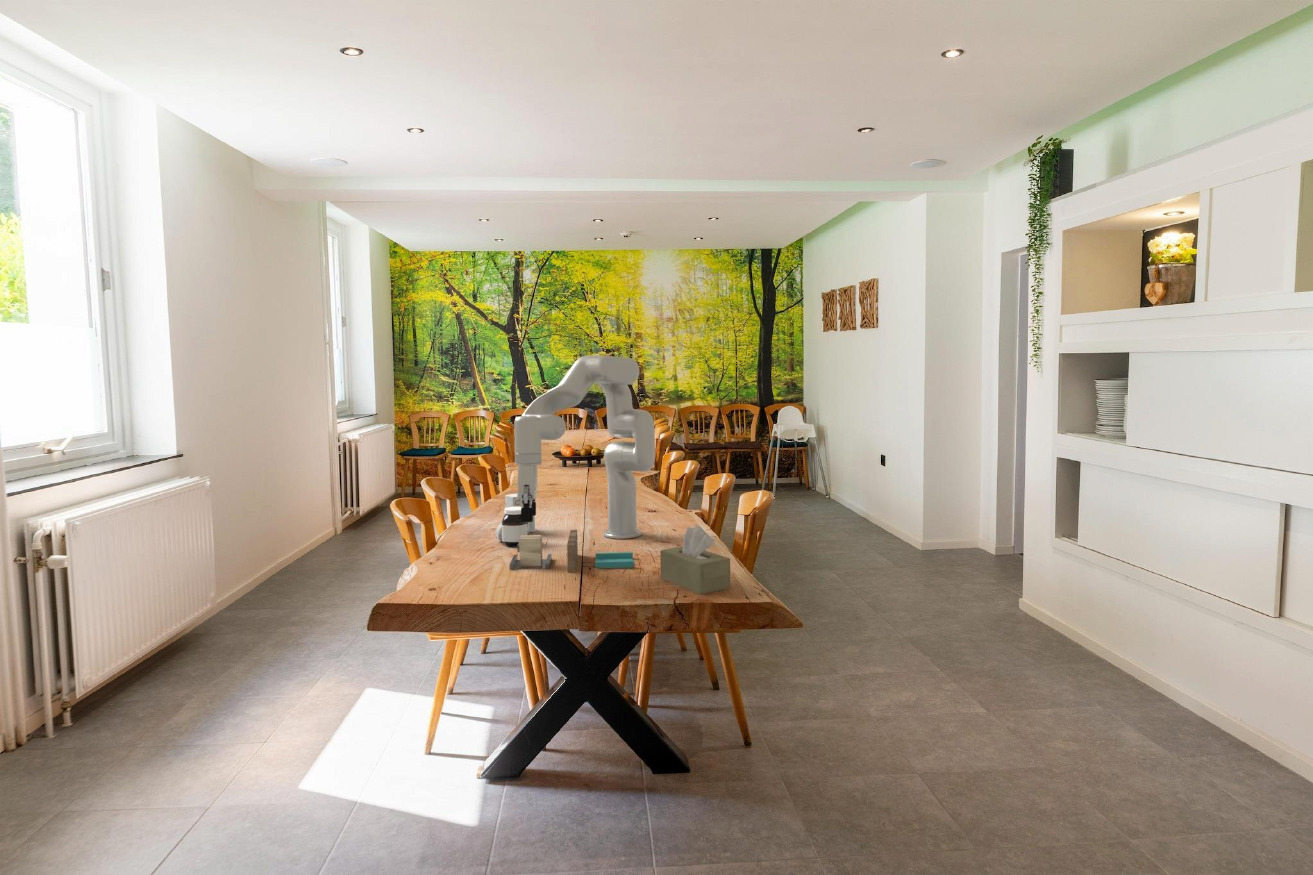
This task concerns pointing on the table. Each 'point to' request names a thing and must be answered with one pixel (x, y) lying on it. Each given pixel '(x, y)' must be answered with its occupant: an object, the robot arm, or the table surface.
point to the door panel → (572, 551)
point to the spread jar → (512, 527)
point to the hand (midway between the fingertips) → (528, 518)
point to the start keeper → (516, 566)
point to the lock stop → (530, 550)
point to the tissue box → (696, 564)
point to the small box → (514, 502)
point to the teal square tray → (614, 560)
